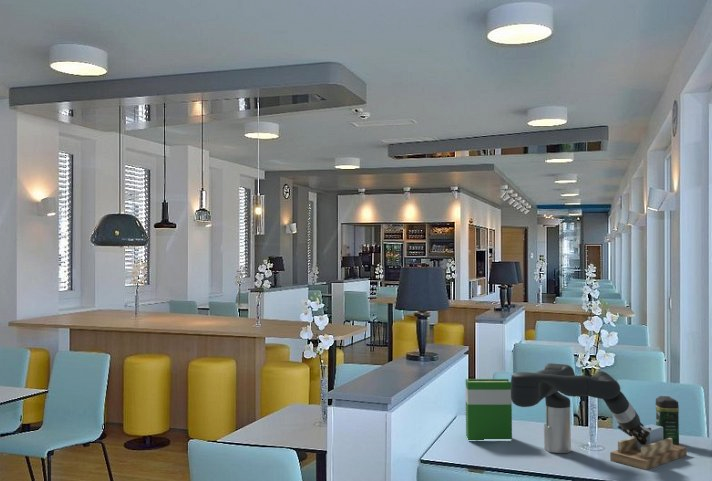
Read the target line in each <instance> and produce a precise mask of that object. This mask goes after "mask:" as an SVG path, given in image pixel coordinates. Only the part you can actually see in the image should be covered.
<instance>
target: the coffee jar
mask: <svg viewBox="0 0 712 481" xmlns="http://www.w3.org/2000/svg"><path fill="white" fill-rule="evenodd" d="M679 406H680V405H679V402H678V400H676V399H674V398H673V397H671V396H667V395H666V396H664V395H659V396H658V397H656V398H655V425H657V426H661V427H663V440H664V439H667V438H672V443H673V444H674V445H678V446H680V427H679V426H680V424H679V418H680V416H679V413H680V412H679V410H680V409H679V408H680V407H679Z"/></svg>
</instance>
